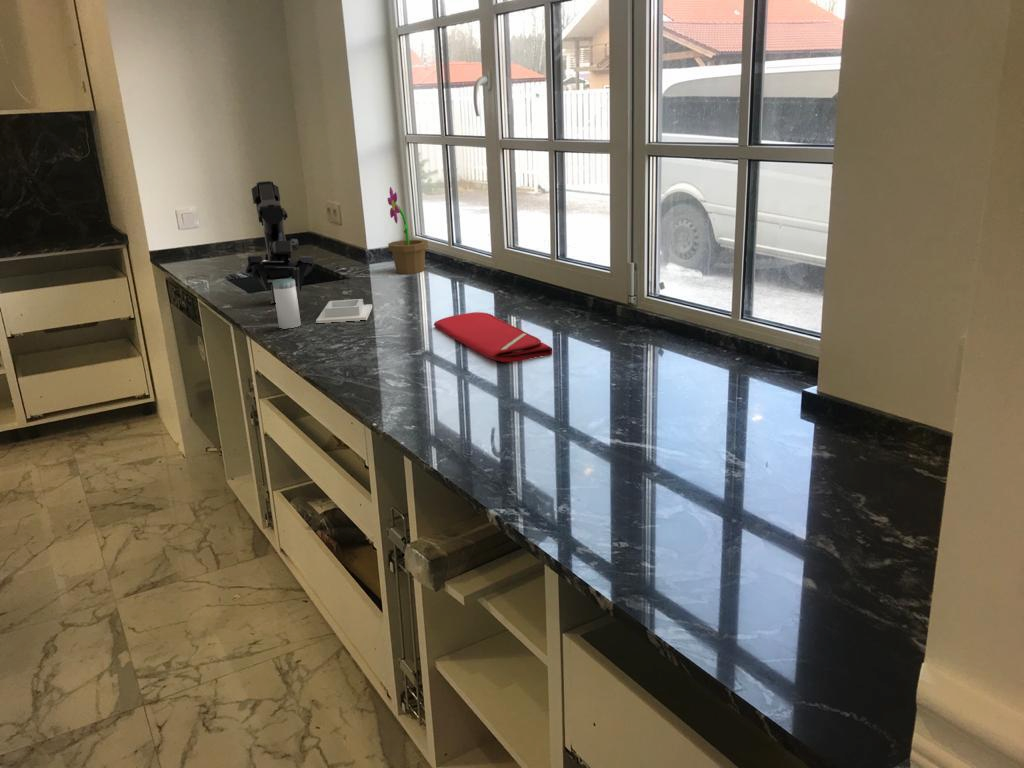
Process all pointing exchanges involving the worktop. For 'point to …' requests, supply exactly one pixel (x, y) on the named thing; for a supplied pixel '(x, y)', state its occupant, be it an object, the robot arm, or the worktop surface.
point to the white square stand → (344, 311)
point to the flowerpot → (406, 245)
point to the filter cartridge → (286, 303)
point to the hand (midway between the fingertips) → (284, 290)
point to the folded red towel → (493, 337)
